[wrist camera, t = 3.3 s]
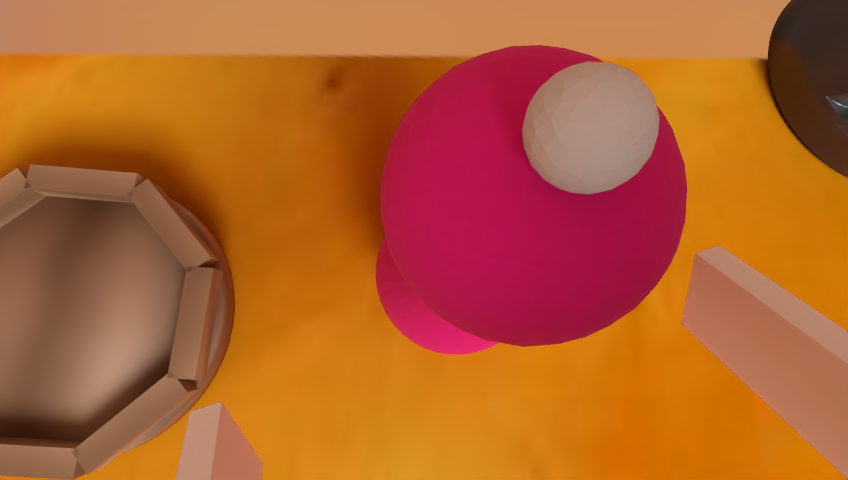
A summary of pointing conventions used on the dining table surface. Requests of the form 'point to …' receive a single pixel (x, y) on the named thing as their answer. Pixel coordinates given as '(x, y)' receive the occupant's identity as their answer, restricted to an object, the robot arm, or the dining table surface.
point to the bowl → (101, 317)
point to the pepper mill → (527, 202)
